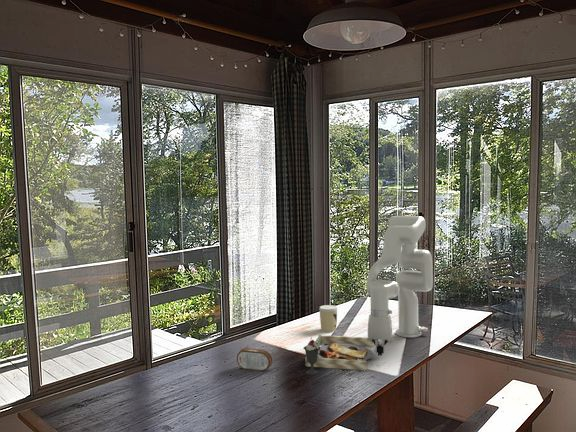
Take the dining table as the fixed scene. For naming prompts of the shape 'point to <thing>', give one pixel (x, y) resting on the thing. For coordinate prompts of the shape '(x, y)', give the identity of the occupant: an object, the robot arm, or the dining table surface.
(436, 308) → the dining table surface
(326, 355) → the food plate
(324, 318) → the coffee cup
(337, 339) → the bay
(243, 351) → the tin
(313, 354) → the sundae
